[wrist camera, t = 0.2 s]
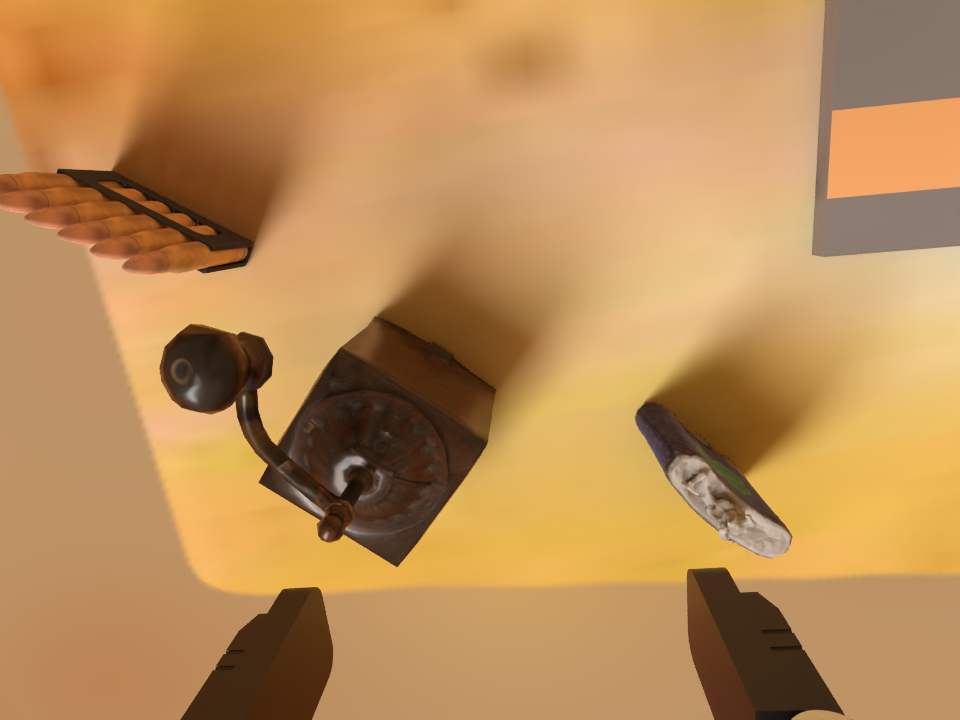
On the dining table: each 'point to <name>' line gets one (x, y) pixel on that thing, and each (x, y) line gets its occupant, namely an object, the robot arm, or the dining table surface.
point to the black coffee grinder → (349, 427)
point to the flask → (712, 484)
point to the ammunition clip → (123, 221)
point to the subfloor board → (888, 127)
